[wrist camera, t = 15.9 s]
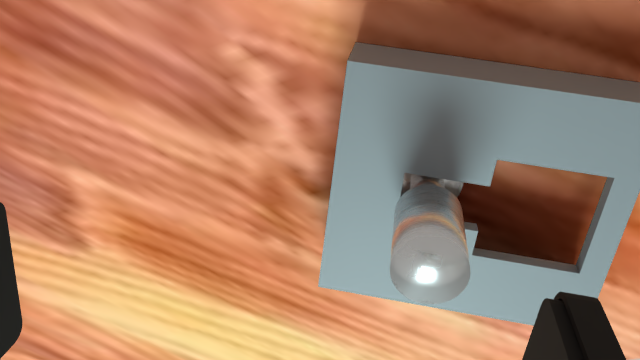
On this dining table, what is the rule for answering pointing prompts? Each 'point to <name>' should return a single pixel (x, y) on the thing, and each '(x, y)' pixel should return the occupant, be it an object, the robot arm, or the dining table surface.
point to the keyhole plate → (474, 166)
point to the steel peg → (429, 241)
